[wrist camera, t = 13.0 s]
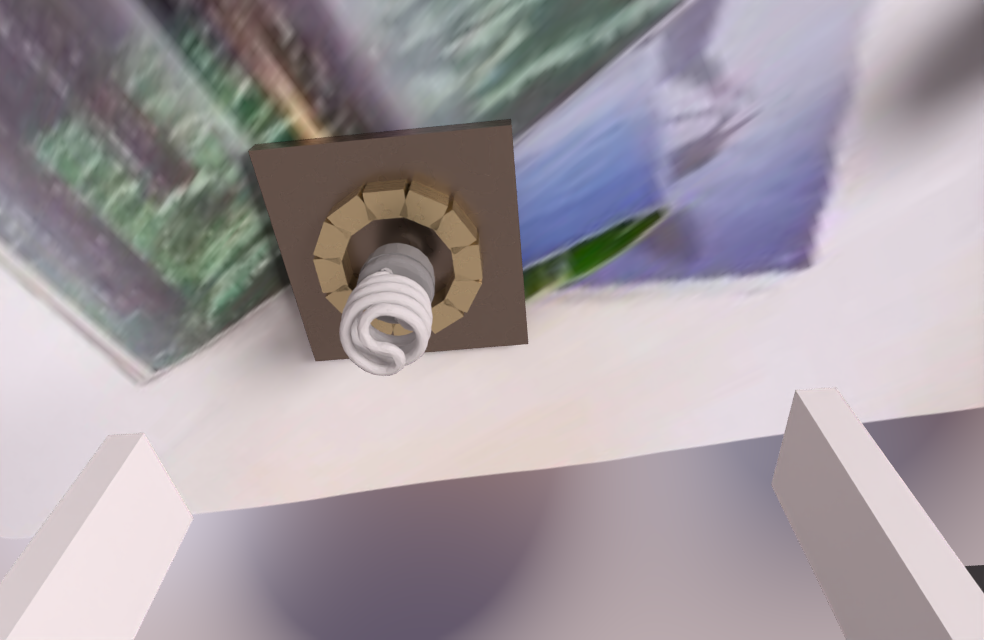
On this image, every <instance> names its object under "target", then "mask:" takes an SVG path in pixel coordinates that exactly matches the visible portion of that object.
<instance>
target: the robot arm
mask: <svg viewBox="0 0 984 640" xmlns="http://www.w3.org/2000/svg"><path fill="white" fill-rule="evenodd" d="M771 485H772V487H773V489H774V491H775V493H776V495H777V497H778V499H779V502H780V504H781V506H782V508H783V510H784V512H785V514H786V516H787V518H788V520H789V522H790V524H791V526H792V529H793V531H794V533H795V534H796V537H797V539H798V541H799V543H800V545H801V547H802V549H803V551H804V553H805V555H806V558H807V560H808V562H809V564H810V566H811V568H812V570H813V572H814V574H815V576H816V578H817V580H818V582H819V584H820V587H821V589H822V591H823V593H824V595H825V597H826V599H827V601H828V603H829V605H830V607H831V609H832V611H833V613H834V615H835V618H836V620H837V622H838V624H839V626H840V628H841V630H842V632H843V634H844V636H845V638H846V640H984V565H978V566H964V565H963V564H962V563H961V561H960V560H959V558H958V557H957V555H956V554H955V553H954V551H953V550H952V548H951V547H950V546H949V544H948V543H947V542H946V540H945V539H944V537H943V536H942V535H941V533H940V532H939V530H938V529H937V528H936V526H935V525H934V523H933V522H932V521H931V519H930V518H929V517H928V515H927V514H926V512H925V511H924V509H923V508H922V507H921V505H920V504H919V502H918V501H917V500H916V498H915V497H914V495H913V494H912V493H911V491H910V490H909V488H908V487H907V486H906V484H905V483H904V482H903V480H902V479H901V477H900V476H899V475H898V473H897V472H896V470H895V469H894V468H893V466H892V465H891V463H890V462H889V461H888V459H887V458H886V456H885V455H884V454H883V452H882V451H881V449H880V448H879V447H878V445H877V444H876V443H875V441H874V440H873V438H872V437H871V436H870V434H869V433H868V431H867V430H866V429H865V427H864V426H863V424H862V423H861V422H860V420H859V419H858V417H857V416H856V415H855V413H854V412H853V410H852V409H851V408H850V406H849V405H848V403H847V402H846V401H845V399H844V398H843V396H842V395H841V394H840V392H839V391H838V390H837V388H836V387H833V388H818V389H803V390H795V394H794V398H793V402H792V406H791V410H790V413H789V417H788V421H787V425H786V429H785V433H784V437H783V441H782V445H781V449H780V453H779V457H778V460H777V465H776V468H775V472H774V476H773V480H772V484H771ZM192 520H193V517H192V515H191V513H190V511H189V510H188V508H187V506H186V504H185V503H184V501H183V499H182V498H181V496H180V494H179V492H178V491H177V489H176V487H175V485H174V484H173V482H172V480H171V479H170V477H169V475H168V473H167V472H166V470H165V468H164V467H163V465H162V463H161V461H160V460H159V458H158V456H157V455H156V453H155V451H154V449H153V448H152V446H151V444H150V442H149V441H148V439H147V437H146V436H145V434H144V433H136V434H121V435H108V436H107V438H106V439H105V440H104V442H103V443H102V444H101V446H100V447H99V449H98V450H97V451H96V453H95V454H94V455H93V457H92V458H91V459H90V461H89V462H88V464H87V465H86V466H85V468H84V469H83V470H82V472H81V473H80V475H79V476H78V477H77V479H76V480H75V481H74V483H73V484H72V485H71V487H70V488H69V490H68V491H67V492H66V494H65V495H64V496H63V498H62V499H61V500H60V502H59V503H58V505H57V506H56V507H55V509H54V510H53V511H52V513H51V514H50V515H49V517H48V518H47V520H46V521H45V522H44V524H43V525H42V526H41V528H40V529H39V530H38V532H37V533H36V535H35V536H34V537H33V539H32V540H31V541H30V543H29V544H28V546H27V547H26V548H25V550H24V551H23V552H22V554H21V555H20V557H19V558H18V559H17V560H16V562H15V563H14V565H13V566H12V567H11V569H10V570H9V571H8V573H7V574H6V575H5V577H4V578H3V580H2V581H1V582H0V640H134V638H135V636H136V634H137V632H138V630H139V628H140V626H141V624H142V622H143V620H144V618H145V615H146V613H147V611H148V609H149V607H150V605H151V603H152V601H153V599H154V597H155V595H156V593H157V591H158V589H159V587H160V585H161V583H162V581H163V579H164V577H165V575H166V573H167V571H168V569H169V567H170V565H171V563H172V561H173V559H174V557H175V555H176V553H177V551H178V548H179V546H180V545H181V543H182V540H183V538H184V536H185V534H186V532H187V530H188V528H189V526H190V524H191V522H192Z"/></svg>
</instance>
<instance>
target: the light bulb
mask: <svg viewBox="0 0 984 640" xmlns="http://www.w3.org/2000/svg"><path fill="white" fill-rule="evenodd" d="M434 293H435V276H434V270H433V266H432V264H431V263H430V261H429V259H428V257H427V256H425V255H424V254H423V253H422V252H421V251H420V250H419V249H417V248H415V247H413V246H410V245H407V244H402V243H391V244H386V245H383V246H381V247H379V248H377V249H376V250H375V251H374V252H373V253H371V254H370V256H369V257H368V259H367V260H366V262H365V263H364V265H363V267H362V268H361V270H360V274H359V278H358V281H357V286H356V287H355V289H354V290H353V291H352V292H351V294H350V296H349V298H348V300H347V303H346V305H345V307H344V309H343V313H342V320H341V322H340V329H339V334H340V341H341V344H342V346H343V349H344V351H345V353H346V354H347V355H348V357H349V358H350V360H351V361H352V362H353V363H355V364H356V365H357V366H358V367H360V368H361V369H363V370H364V371H366V372H369V373H371V374H373V375H382V376H390V375H393V374H396V373H397V372H399V371H400V370H401V369H403V368H404V366H406V365H409V364H411V363H413V362H415V361H416V360H417V359H419V358H420V357H421V356H422V355H423V353H424V352H425V350H426V348H427V344H428V340H429V338H430V335H431V326H432V319H433V316H432V310H431V303H432V300H433V298H434ZM363 310H365V311H364V312H363ZM375 318H376V319H378V320H381V321H384V322H387V323H392V324H400V325H401V326H402V327H403V328H404V329H406V330H409V331H413V332H412V333H409V334H406V335H401V336H394V335H389V334H385V333H383V332H381V331H379V330H377V329H376V328H374V327H373V326H372V325H371V324H370V323H371V322H372V320H373V319H375Z"/></svg>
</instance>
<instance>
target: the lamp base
mask: <svg viewBox="0 0 984 640" xmlns="http://www.w3.org/2000/svg"><path fill="white" fill-rule="evenodd" d="M248 152H249V155H250V158H251V161H252V164H253V167H254V170H255V173H256V177H257V180H258V183H259V186H260V189H261V192H262V195H263V198H264V202H265V205H266V208H267V211H268V214H269V217H270V220H271V223H272V227H273V230H274V233H275V236H276V239H277V242H278V245H279V248H280V252H281V255H282V258H283V261H284V264H285V267H286V270H287V273H288V277H289V280H290V283H291V286H292V289H293V292H294V295H295V298H296V302H297V305H298V308H299V311H300V314H301V317H302V320H303V323H304V327H305V330H306V333H307V336H308V339H309V342H310V345H311V348H312V352H313V355H314V358H315V361H325V360H337V359H349V357H348V355H347V354H346V353H345V351H344V349H343V346H342V344H341V341H340V334H339V329H340V322H341V320H342V313H343V309H344V307H345V305H346V303H347V300H348V298H349V296H350V294H351V292H352V291H353V290H354V289H355V287H356V286H357V281H358V278H359V274H360V270H361V268H362V267H363V265H364V263H365V262H366V260H367V259H368V257H369V256H370V254H371V253H373V252H374V251H375V250H376V249H377V248H379V247H381V246H383V245H386V244H391V243H402V244H407V245H410V246H413V247H415V248H417V249H419V250H420V251H421V252H422V253H423V254H424V255H425V256H427V257H428V259H429V261H430V263H431V264H432V266H433V270H434V276H435V293H434V298H433V300H432V303H431V310H432V316H433V319H432V326H431V335H430V338H429V340H428V344H427V348H426V350H425V352H435V351H447V350H459V349H472V348H484V347H496V346H508V345H521V344H528V334H527V321H526V308H525V295H524V282H523V269H522V256H521V243H520V230H519V217H518V204H517V191H516V178H515V165H514V152H513V139H512V126H511V119H507V120H497V121H486V122H476V123H466V124H456V125H446V126H436V127H426V128H416V129H406V130H396V131H386V132H376V133H366V134H355V135H345V136H335V137H325V138H315V139H305V140H295V141H285V142H275V143H265V144H255V145H254V146H253V147H252V148H251V149H250V150H249V151H248ZM364 311H365V310H363V312H364ZM370 324H371V325H372V326H373V327H374V328H376V329H377V330H379V331H381V332H383V333H385V334H389V335H394V336H401V335H406V334H409V333H412V332H413V331H409V330H406V329H404V328H403V327H402V326H401V325H400V324H392V323H387V322H384V321H381V320H378V319H376V318H375V319H373V320H372V322H371V323H370Z"/></svg>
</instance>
